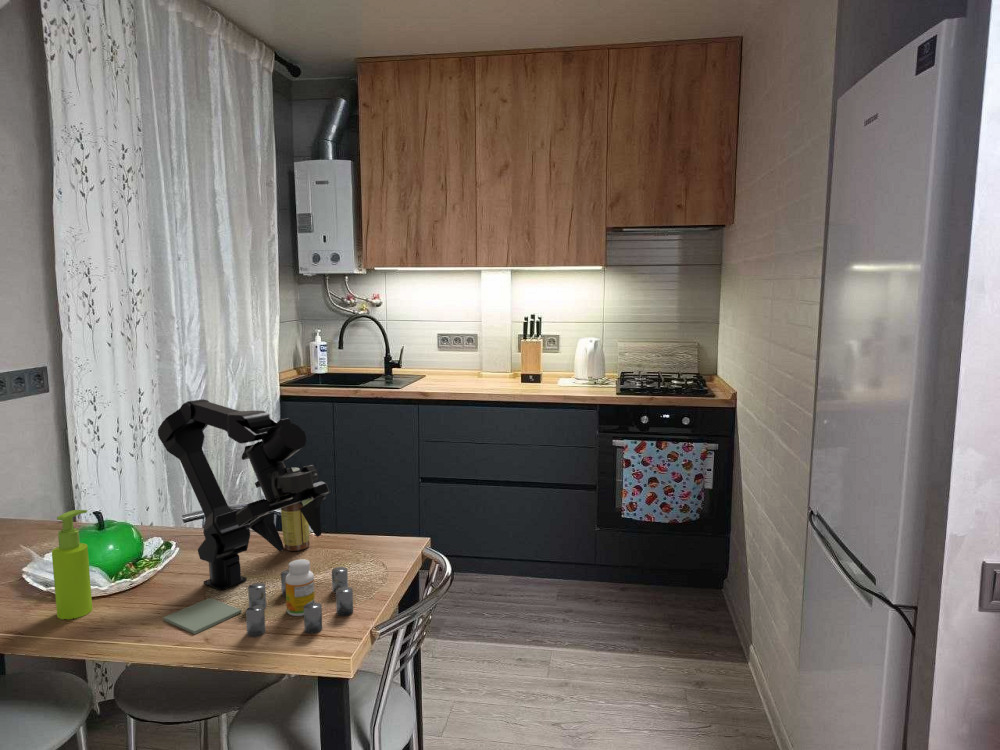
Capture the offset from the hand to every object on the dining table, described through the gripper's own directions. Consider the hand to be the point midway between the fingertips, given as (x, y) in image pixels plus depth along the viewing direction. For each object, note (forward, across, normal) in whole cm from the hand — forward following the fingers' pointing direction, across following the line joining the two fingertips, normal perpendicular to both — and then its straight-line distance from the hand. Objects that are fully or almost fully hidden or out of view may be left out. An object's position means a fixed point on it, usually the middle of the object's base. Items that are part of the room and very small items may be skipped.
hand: (301, 543), depth 131 cm
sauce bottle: (-2, +22, +31) cm, 38 cm away
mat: (+4, -12, +20) cm, 24 cm away
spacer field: (+12, 0, +8) cm, 14 cm away
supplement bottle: (+12, 0, +8) cm, 14 cm away
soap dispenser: (-8, -24, +40) cm, 47 cm away
